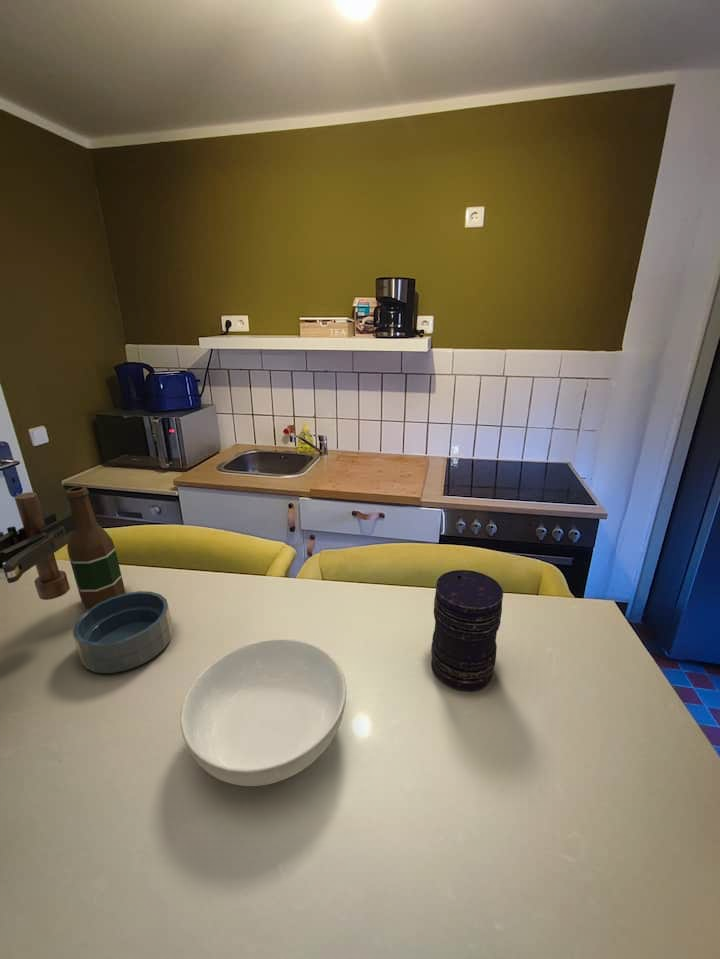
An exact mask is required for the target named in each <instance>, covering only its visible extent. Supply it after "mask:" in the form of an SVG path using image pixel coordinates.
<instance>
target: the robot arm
mask: <svg viewBox="0 0 720 959" xmlns="http://www.w3.org/2000/svg"><path fill="white" fill-rule="evenodd" d="M43 518H44V521H45V525H46V527H44V528H42V529H40V530H38V533H39V534H37V535H35V536H33V537H31V538H28V539H27V536H26V533H25V530H24V527H23V526H22V527H21V528H19V529H18V530H17V528H16V526H9V527H7V528H6V530H7V533H5V534H4V532H3V531H0V580H5V579H6V581H7V583H8V584H13V583H16V582H17V581H18V582H19V580H20V578H21V577H22V576H23V574H25V573H26V572H28V571H29V570H30V569H32V568H33V567H34V566H36V564H37V563H39V562H40V561H42V560H43V559H44V558H46V557H47V556H49V555H50V554H51V553H53V552H54V553H55V552H56V551H57V550H58V546H57V543H56V541H58V540H59V539H61V538H63V537H65V536H66V535H68V534H69V533H72V531H73V530H74V529H76V524H75V520H74V516H73V514H71V513H68V514H65V515H64V516H63V517H61V518H59V519H57V517H56V513H54V512H50V513H48V514H46V515H43Z"/></svg>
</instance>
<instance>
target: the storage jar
mask: <svg viewBox="0 0 720 959" xmlns="http://www.w3.org/2000/svg"><path fill="white" fill-rule="evenodd" d="M503 599H504V590H503V587H502V585H501V584H500V583H499V582H498V581H497V580H496V579H494V578H493V577H491V576H489V575H488V574H486V573H482V572H480V571H476V570H469V569H455V570H451V571H447V572H445V573H443V574H441V575H440V576H439V577H438V578H437V579H436V582H435V594H434V600H433V617H434V631H433V633H432V641H431V646H430V647H431V648H430V651H431V652H430V653H431V654H430V655H431V659H430V660H431V661H430V667H431V671H432V673H433V675H434V676H435V678H436V679H437V680H438V681H439V682H440V683H442V684H443V685H444V686H446V687H448V688H449V689H452V690H454V691H456V692H457V691H458V692H463V693H473V692H478V691H481V690H484V689H485V688H487V687H488V686H489V685H490V684H491V682H492V681H493V677H494V670H495V666H496V660H497V647H498V645H497V636H498V635H497V634H498V631H499V629H500V625H501V618H502V614H503Z"/></svg>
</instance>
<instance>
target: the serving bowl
mask: <svg viewBox="0 0 720 959" xmlns="http://www.w3.org/2000/svg"><path fill="white" fill-rule="evenodd" d="M346 701H347V683H346V678H345V675H344V672H343V669H342V668H341V666H340V664H339V663H338V662H337V661H336V659H335V658H334V657H333V656H332V655H331V654H330V653H329V652H328V651H326V650H324V649H323V648H321V647H319V646H318V645H316V644H314V643H310V642H308V641H303V640H299V639H293V638H269V639H262V640H258V641H253V642H249V643H247V644H244V645H241V646H238V647H236V648H234V649H232V650H230V651H228V652H226V653H223V655H221V656H219V657H218V658H217V659H215V660H214V661H212V662H211V663H210V664H209V665H207V666H206V667H205V668H204V669H203V670H202V671H201V672H200V673H199V674H198V676H197V677H196V678H195V679H194V681H193V682H192V684H191V685H190V687H189V689H188V691H187V692H186V694H185V697H184V699H183V703H182V706H181V711H180V730H181V735H182V738H183V740H184V742H185V744H186V747H187V749H188V751H189V753H190V754H191V756H192V757H193V759H194V760H195V762H196V763H197V764H198V765H199V766H200V767H201V768H202V769H203V770H204V771H205V772H207V773H208V774H209V775H211V776H212V777H214V778H215V779H217V780H220V781H222V782H225V783H228V784H231V785H235V786H242V787H258V786H259V787H261V786H267V785H272V784H274V783H279V782H282V781H284V780H286V779H289V778H291V777H294V776H295V775H296V774H298V773H300V772H302V771H303V770H305V769H306V768H307V767H309V766H311V764H312V763H314V762H315V761H316V760H317V759H318V758H319V757H321V755H322V754H323V753H324V752H325V750H327V748H328V746H330V744H331V742H332V741H333V739H334V737H335V736H336V734H337V733H338V730H339V727H340V725H341V722H342V719H343V715H344V712H345V706H346Z"/></svg>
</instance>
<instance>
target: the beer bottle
mask: <svg viewBox="0 0 720 959" xmlns="http://www.w3.org/2000/svg"><path fill="white" fill-rule="evenodd" d="M64 492H65V493H64V496H65V497H66V499H67V501H68V506H69V512H70V514H73V516H74V520H75V524H76V529H74V530H73V531H71V532H70V536H69V537H68V540H67V545H66V549H67V555H68V558H69V562H70V566H71V569H72V572H73V577H74V580H75V583H76V587H77V591H78V595H79V597H80V600H81V603H82V605H83V606H84V608H85V609H86V611H87V610H88V609H90V608H92V607H93V606H95V605H96V604H98V603H100V602H102V601H104V600H107V599H109V598H111V597H114V596H118V595H121V594H125V593H126V589H125V585H124V580H123V576H122V575H123V574H122V572H121V568H120V564H119V559H118V554H117V551H116V546H115V543H114V540H113V538H112V537H111V536H110V535H109V533H108V532H107V531H106V530H105V529H104V528H103V527H102V526H101V525H99V523H98V521H97V519H96V515H95V513H94V509H93V506H92V503H91V501H90V497H89V494H90V491H89V490H88V488H87V487H86V486H85V485H83V486H82V485H80V486H72V487H70V488H68V489H66V490H65V491H64Z"/></svg>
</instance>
